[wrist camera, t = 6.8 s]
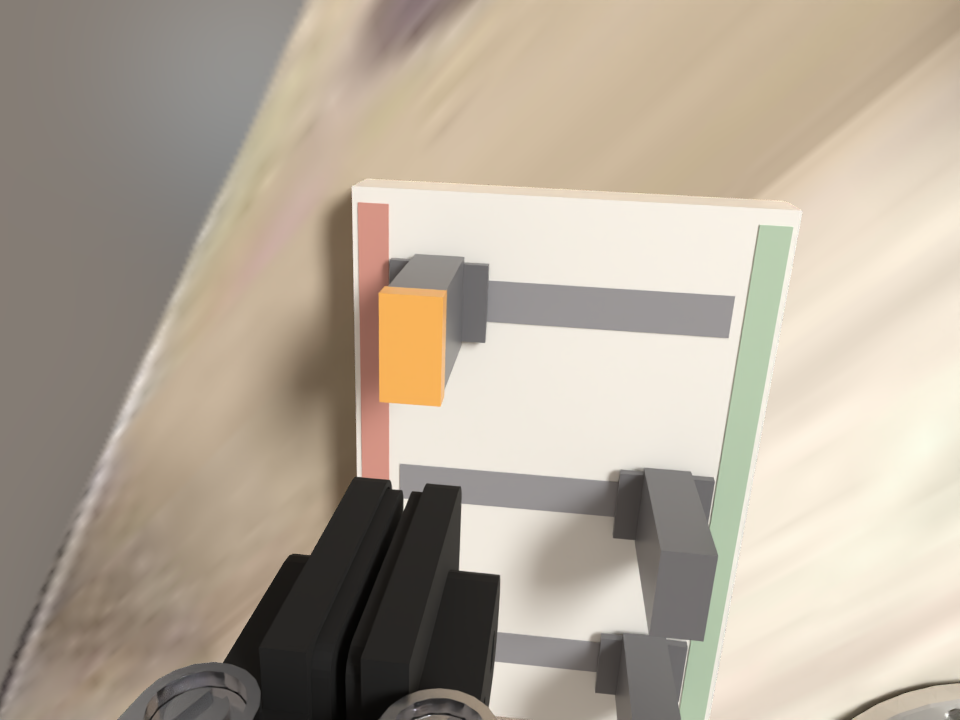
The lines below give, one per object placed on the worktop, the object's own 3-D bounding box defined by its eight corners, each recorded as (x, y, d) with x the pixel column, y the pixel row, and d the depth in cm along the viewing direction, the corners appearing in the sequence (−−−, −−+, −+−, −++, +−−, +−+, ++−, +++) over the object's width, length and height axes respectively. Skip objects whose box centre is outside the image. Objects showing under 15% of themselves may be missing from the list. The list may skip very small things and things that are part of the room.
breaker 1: (714, 471, 27) (747, 558, 22) (702, 546, 28) (730, 644, 23) (620, 464, 27) (632, 548, 22) (611, 538, 28) (621, 633, 23)
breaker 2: (687, 637, 29) (711, 747, 24) (677, 699, 30) (698, 817, 25) (601, 628, 29) (608, 736, 24) (594, 691, 30) (600, 805, 25)
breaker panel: (784, 200, 25) (803, 210, 23) (697, 701, 33) (705, 740, 31) (366, 178, 26) (351, 186, 25) (372, 667, 34) (360, 702, 32)
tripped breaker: (489, 256, 25) (471, 299, 20) (485, 347, 26) (467, 408, 21) (391, 250, 25) (350, 291, 20) (391, 340, 26) (352, 399, 21)
